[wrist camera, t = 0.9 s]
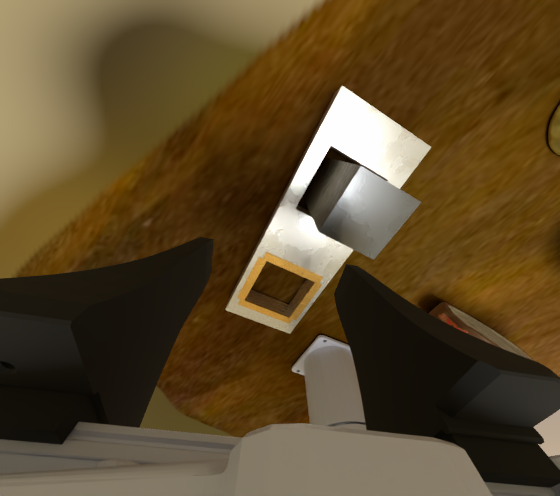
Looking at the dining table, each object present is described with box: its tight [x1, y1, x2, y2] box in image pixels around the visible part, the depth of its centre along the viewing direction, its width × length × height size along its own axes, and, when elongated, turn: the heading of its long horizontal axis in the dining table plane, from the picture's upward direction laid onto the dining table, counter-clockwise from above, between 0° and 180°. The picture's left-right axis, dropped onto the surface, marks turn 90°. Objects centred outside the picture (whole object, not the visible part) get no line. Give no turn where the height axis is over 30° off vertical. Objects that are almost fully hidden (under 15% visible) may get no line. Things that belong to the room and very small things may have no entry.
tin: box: [429, 302, 534, 361], centre depth 22 cm, size 15×3×8 cm, turn 59°
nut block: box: [304, 158, 421, 260], centre depth 15 cm, size 4×4×8 cm
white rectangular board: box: [225, 86, 431, 334], centre depth 20 cm, size 8×22×2 cm, turn 153°
